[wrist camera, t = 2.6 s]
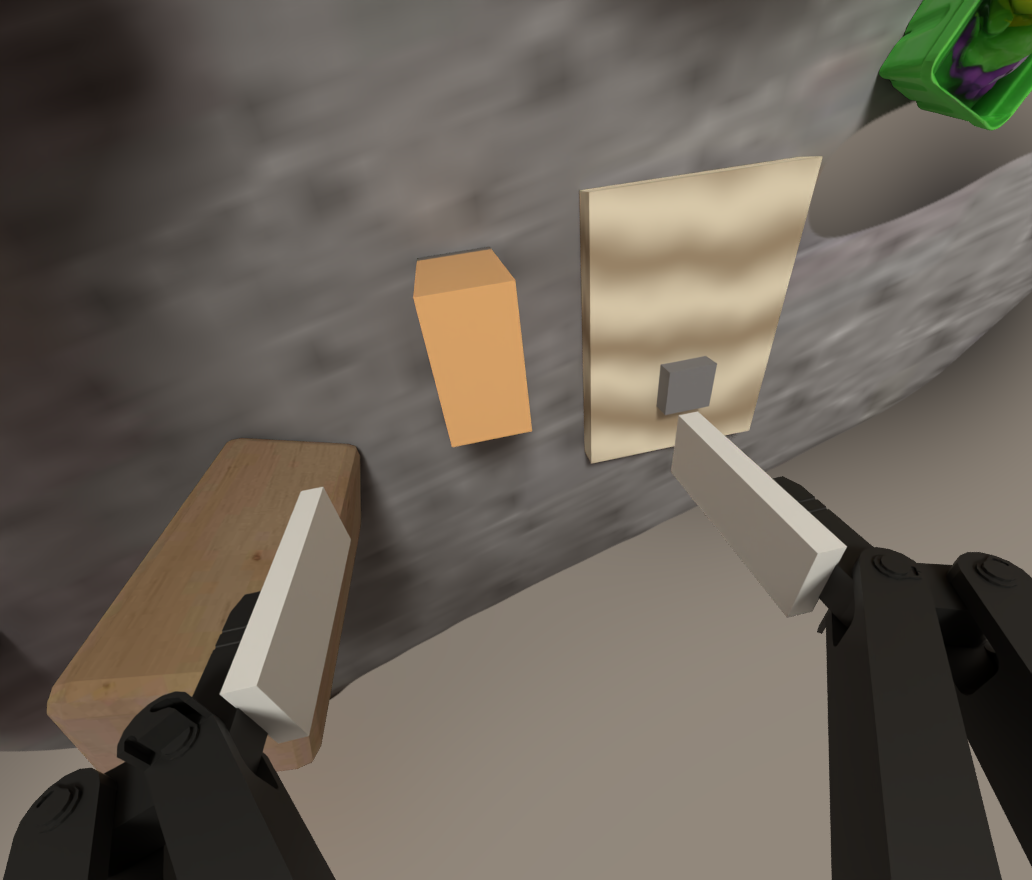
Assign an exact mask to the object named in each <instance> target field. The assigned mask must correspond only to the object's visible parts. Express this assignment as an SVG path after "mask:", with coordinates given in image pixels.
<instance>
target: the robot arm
mask: <svg viewBox="0 0 1032 880" xmlns="http://www.w3.org/2000/svg"><path fill="white" fill-rule="evenodd" d="M671 472H672V474H673V475H674V476H675V477H676V479H677V480H678V481H679V482H680V484H681V485H682V486H683V487H684V489H685V490H686V491H687V493H688V494H689V495H690V496H691V498H692V499H693V500H694V501H695V503H696V504H697V505H698V506H699V508H700V509H701V510H702V511H703V513H704V514H705V515H706V516H707V518H708V519H709V520H710V521H711V523H712V524H713V525H714V526H715V528H716V529H717V530H718V531H719V533H720V534H721V535H722V537H723V538H724V539H725V540H726V542H727V543H728V544H729V545H730V547H731V548H732V549H733V550H734V552H735V553H736V554H737V555H738V557H739V558H740V559H741V560H742V562H743V563H744V564H745V565H746V567H747V568H748V569H749V570H750V572H751V573H752V574H753V575H754V577H755V578H756V579H757V581H758V582H759V583H760V584H761V586H762V587H763V588H764V589H765V591H766V592H767V593H768V594H769V596H770V597H771V598H772V599H773V601H774V602H775V603H776V604H777V605H778V607H779V608H780V609H781V611H782V612H783V613H784V614H785V616H786V617H787V618H788V617H792V616H796V615H800V614H804V613H808V612H812V611H813V609H814V607H815V605H816V604H817V602H818V600H819V599H820V600H821V601H822V602H823V603H824V604H825V605H826V606H827V607H828V611H827V613H826V614H825V616H824V618H823V620H822V621H821V623H820V625H819V628H818V631H817V632H819V633H821V634H822V633H823V631H824V629H825V628H826V648H827V690H828V691H827V692H828V735H829V777H830V778H829V780H830V820H831V822H830V823H831V865H832V866H831V868H832V880H1002V878H1001V874H1000V870H999V866H998V862H997V858H996V854H995V850H994V846H993V842H992V838H991V834H990V829H989V825H988V821H987V817H986V813H985V809H984V805H983V801H982V797H981V793H980V789H979V785H978V780H977V776H976V772H975V768H974V764H973V760H972V756H971V752H970V748H969V744H968V741H969V743H970V745H971V747H972V749H973V751H974V753H975V755H976V757H977V759H978V761H979V763H980V765H981V767H982V769H983V771H984V773H985V775H986V777H987V779H988V781H989V783H990V785H991V787H992V789H993V790H994V792H995V795H996V797H997V799H998V800H999V802H1000V805H1001V806H1002V809H1003V810H1004V812H1005V814H1006V816H1007V818H1008V820H1009V822H1010V824H1011V826H1012V828H1013V830H1014V832H1015V834H1016V836H1017V838H1018V840H1019V842H1020V844H1021V846H1022V848H1023V850H1024V852H1025V854H1026V856H1027V858H1028V860H1029V862H1030V864H1031V866H1032V578H1031V577H1030V576H1029V575H1028V574H1027V573H1026V572H1025V571H1024V570H1022V569H1021V568H1019V567H1017V566H1016V565H1014V564H1012V563H1011V562H1009V561H1007V560H1004V559H1002V558H999V557H997V556H993V555H989V554H985V553H981V552H967V553H965V554H962V555H960V556H959V557H958V558H957V560H956V561H955V562H954V564H953V565H941V564H925V563H916V562H915V561H914V560H911V559H910V558H908V557H907V556H905V555H903V554H901V553H898V552H896V551H893V550H890V549H885V548H878V547H873V546H872V545H870V544H869V543H868V542H867V541H866V540H864V539H863V538H862V537H861V536H860V535H858V534H857V533H856V532H855V531H854V530H853V529H851V528H850V527H849V526H848V525H847V524H846V523H845V522H843V521H842V520H841V519H840V518H839V517H838V516H836V515H835V514H834V513H833V512H832V511H830V510H829V509H826V506H825V505H823V504H822V503H821V502H820V501H819V500H816V499H815V497H814V496H813V495H812V494H810V493H809V492H808V491H807V490H806V489H805V488H804V487H802V486H801V485H799V484H797V483H795V482H793V481H791V480H789V479H787V478H785V477H783V476H782V477H778V478H773V479H772V478H770V476H769V475H767V474H766V473H765V472H764V471H763V470H762V469H761V468H760V467H759V466H757V465H756V464H755V463H754V462H753V461H752V460H751V459H750V458H749V457H748V456H746V455H745V454H744V453H743V452H742V451H741V450H740V449H739V448H738V447H737V446H735V445H734V444H733V443H732V442H731V441H730V440H729V439H728V438H727V437H725V436H724V435H723V434H722V433H721V432H720V431H719V430H718V429H717V428H716V427H714V426H713V425H712V424H711V423H710V422H709V421H708V420H707V419H706V418H705V417H703V416H702V415H701V414H700V413H699V412H693V413H688V414H683V415H679V416H678V423H677V431H676V438H675V446H674V453H673V460H672V468H671ZM350 542H351V539H350V537H349V535H348V533H347V531H346V529H345V527H344V525H343V523H342V521H341V519H340V518H339V516H338V514H337V512H336V510H335V508H334V506H333V504H332V502H331V500H330V498H329V497H328V495H327V493H326V491H325V489H324V487H319V488H314V489H309V490H304V491H301V493H300V495H299V497H298V500H297V502H296V505H295V507H294V510H293V512H292V515H291V517H290V520H289V522H288V525H287V527H286V530H285V532H284V535H283V537H282V540H281V542H280V545H279V547H278V550H277V552H276V555H275V557H274V560H273V562H272V565H271V567H270V570H269V572H268V575H267V577H266V580H265V582H264V585H263V587H262V590H261V591H259V592H254V593H250V594H245V595H244V596H243V597H242V599H241V600H240V601H239V602H238V603H237V605H236V606H235V607H234V608H233V609H232V611H231V612H230V614H229V616H228V618H227V620H226V623H225V625H224V627H223V629H222V634H220V636H219V638H218V640H217V643H216V645H215V650H213V651H212V654H211V656H210V658H209V660H208V662H207V665H206V667H205V669H204V671H203V674H202V676H201V678H200V680H199V682H198V685H197V687H196V689H195V691H194V694H193V696H192V697H191V696H190V695H189V694H188V693H186V692H179V691H174V692H171V693H168V694H165V695H162V696H161V697H159V698H157V699H156V700H154V701H153V702H151V703H149V704H148V705H147V706H146V707H145V708H144V709H142V710H141V711H140V712H139V713H138V714H137V715H136V716H135V717H134V718H133V719H132V721H131V722H130V723H129V725H128V726H127V727H126V729H125V730H124V731H123V734H122V736H121V738H120V740H119V742H118V745H117V758H119V759H121V760H123V761H125V762H124V763H122V764H120V765H118V766H117V767H115V768H113V769H111V770H109V771H107V772H106V773H104V774H103V773H101V772H99V771H97V770H95V769H93V768H85V769H79V770H77V771H74V772H72V773H70V774H68V775H66V776H64V777H63V778H61V779H60V780H59V781H57V782H56V783H55V784H53V785H52V786H51V787H49V788H48V789H47V790H46V791H45V792H44V793H43V794H42V795H41V796H40V797H39V798H38V799H37V800H36V801H35V802H34V803H33V805H32V806H31V807H30V809H29V810H28V811H27V813H26V814H25V816H24V817H23V819H22V820H21V822H20V824H19V827H18V829H17V831H16V833H15V836H14V838H13V842H12V846H11V850H10V854H9V858H8V862H7V866H6V870H5V874H4V878H3V880H336V879H335V877H334V876H333V874H332V872H331V870H330V868H329V867H328V865H327V863H326V861H325V859H324V858H323V856H322V854H321V852H320V851H319V849H318V847H317V845H316V843H315V841H314V839H313V838H312V836H311V834H310V832H309V830H308V829H307V827H306V825H305V823H304V822H303V820H302V818H301V816H300V814H299V812H298V810H297V809H296V807H295V805H294V803H293V802H292V800H291V798H290V796H289V794H288V792H287V790H286V789H285V787H284V785H283V783H282V781H281V780H280V778H279V776H278V774H277V772H276V771H275V769H274V767H273V765H272V763H271V762H270V760H269V758H268V756H267V755H266V754H265V753H263V749H264V746H265V742H266V739H267V735H269V736H270V737H271V738H272V739H273V740H275V741H276V742H277V743H278V744H279V743H283V742H287V741H291V740H295V739H299V738H303V737H307V736H309V734H310V729H311V725H312V720H313V715H314V711H315V706H316V701H317V697H318V692H319V687H320V683H321V678H322V673H323V668H324V664H325V659H326V654H327V650H328V645H329V640H330V636H331V631H332V626H333V622H334V617H335V612H336V608H337V603H338V598H339V594H340V589H341V584H342V579H343V575H344V570H345V565H346V561H347V556H348V551H349V547H350Z"/></svg>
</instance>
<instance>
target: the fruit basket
mask: <svg viewBox="0 0 1032 880" xmlns="http://www.w3.org/2000/svg"><path fill="white" fill-rule="evenodd" d="M879 75H880V76H881V77H882V78H884V79H890V81H891V83H892V85H893V87H894V88H896V89H897V90H898V91H899V92H901V93H902V94H903V95H904V96H905V97H907V98H908V99H910V100H914V101H916V102H917V105H918V107H919V108H920V109H922V110H926V111H930V112H935V113H939V114H942V115H946V116H950V117H953V118H958V119H962V120H966V121H969V122H970V123H971V124H973V125H974V126H977V127H980V128H984V129H987V130H995V129H997V128H999V127H1000V126H1002V125H1003V124H1004V123H1005V122H1007V121H1008V119H1009V118H1010V117H1011V116H1012V115H1013V114H1014V112H1015V111H1016V110H1017V108H1018V107H1019V106H1020V105H1021V103H1022V102H1023V101H1024V100H1025V98H1026V97H1027V96H1028V94H1029V93H1030V92H1031V91H1032V0H923V2H922V3H921V5H920V6H919V8H918V10H917V11H916V13H915V14H914V16H913V17H912V19H911V21H910V22H909V24H908V27H907V29H906V31H905V36H904V37H902V38H901V39H900V40H899V42H898V43H897V44H896V45H895V46H894V48H893V49H892V51H891V52H890V54H889V56H888V57H887V59H886V60H885V62H884V64H883V65H882V67H881V68H880V71H879Z"/></svg>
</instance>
